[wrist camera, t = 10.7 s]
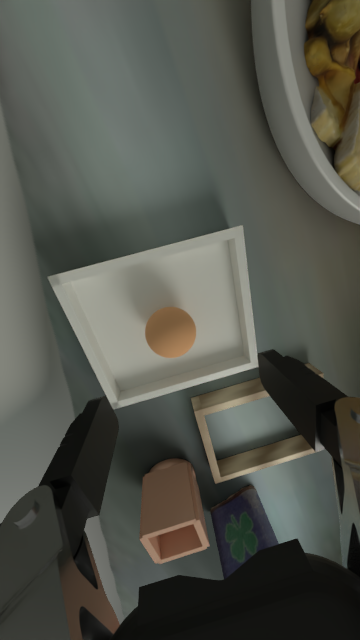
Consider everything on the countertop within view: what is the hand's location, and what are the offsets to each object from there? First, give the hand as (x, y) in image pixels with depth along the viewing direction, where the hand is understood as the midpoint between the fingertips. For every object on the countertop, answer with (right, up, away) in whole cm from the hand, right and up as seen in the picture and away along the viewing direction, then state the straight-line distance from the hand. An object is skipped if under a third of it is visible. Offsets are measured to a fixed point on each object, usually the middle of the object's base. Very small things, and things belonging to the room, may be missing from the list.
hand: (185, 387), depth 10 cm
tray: (-2, +4, +10) cm, 11 cm away
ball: (-1, +2, +7) cm, 7 cm away
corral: (+10, -11, +17) cm, 22 cm away
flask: (+9, -28, +23) cm, 37 cm away
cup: (-2, -20, +18) cm, 27 cm away
